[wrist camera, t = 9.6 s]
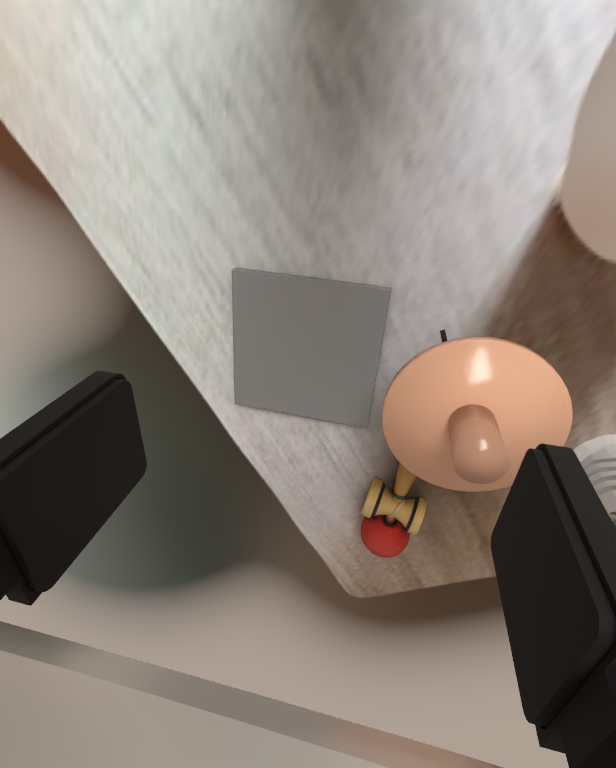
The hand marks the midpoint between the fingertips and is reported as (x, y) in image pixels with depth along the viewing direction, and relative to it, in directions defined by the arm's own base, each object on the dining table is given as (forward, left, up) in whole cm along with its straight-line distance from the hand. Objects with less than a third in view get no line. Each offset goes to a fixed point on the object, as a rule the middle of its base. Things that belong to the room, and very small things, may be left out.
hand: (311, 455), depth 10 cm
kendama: (+28, +6, -33) cm, 44 cm away
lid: (+11, +9, -23) cm, 27 cm away
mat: (+12, -7, -32) cm, 35 cm away
